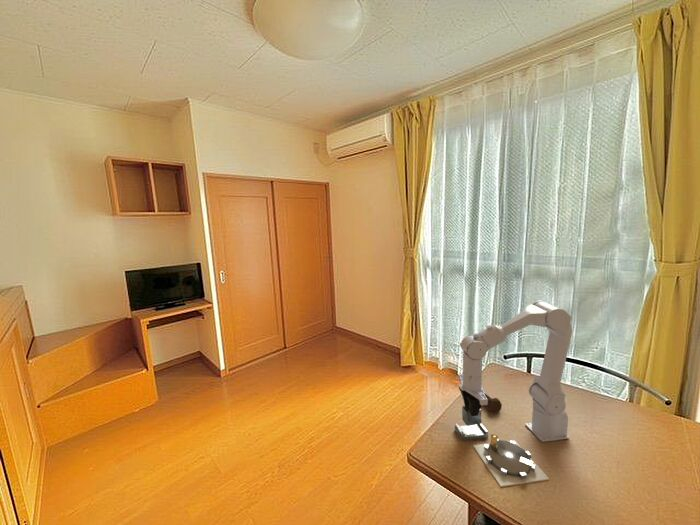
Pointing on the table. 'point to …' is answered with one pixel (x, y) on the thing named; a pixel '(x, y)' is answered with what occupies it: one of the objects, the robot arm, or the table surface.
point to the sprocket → (509, 457)
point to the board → (509, 479)
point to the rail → (471, 432)
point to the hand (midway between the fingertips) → (471, 411)
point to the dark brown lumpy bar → (493, 404)
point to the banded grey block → (470, 416)
